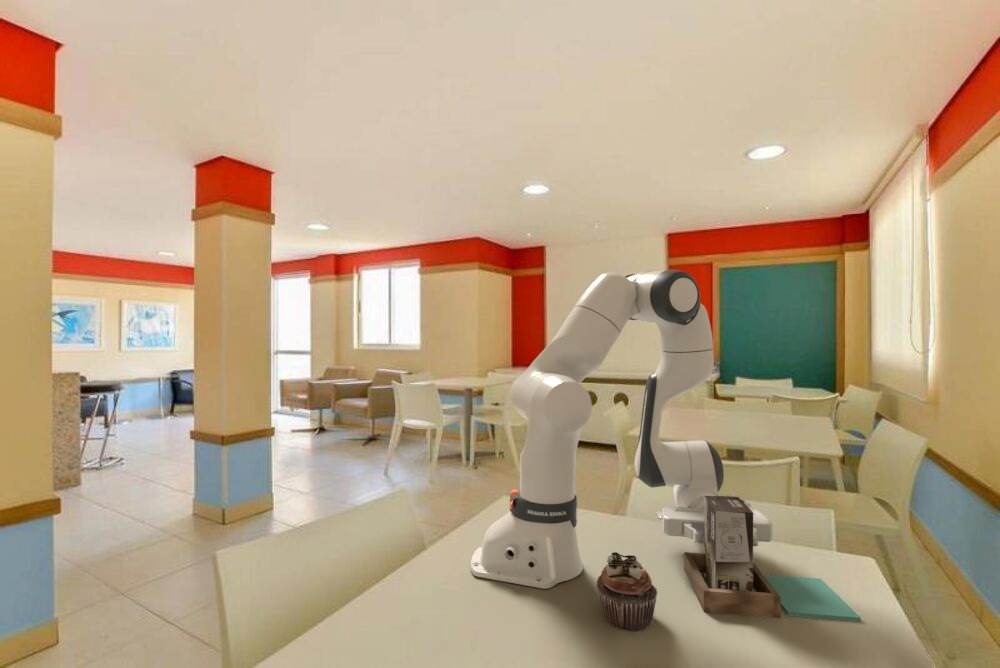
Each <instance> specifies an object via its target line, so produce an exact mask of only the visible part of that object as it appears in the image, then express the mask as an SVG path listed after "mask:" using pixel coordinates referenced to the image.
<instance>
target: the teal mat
mask: <svg viewBox="0 0 1000 668" xmlns="http://www.w3.org/2000/svg"><path fill="white" fill-rule="evenodd" d="M763 575H764V576H765V578H766V579H767V580H768V582H769V583H770V584H771V585H772V587H773V588H774V589H775V590H776V592H777V593H778V594H779V595H780V597H781V609H782V610H783V611H784V612H785V614H786V615H787V616H788V617H790V616H791V617H800V618H801V617H802V618H814V619H826V620H827V619H828V620H838V621H839V620H840V621H852V622H862V617H860V615H858V613H857V612H855V611H854V609H853V608H852V607H850V606H849V604H847V602H845V601H844V600H843V599H842V597H840V596H839V595H838V593H836V592H835V591H834V590H833V589H832V588H831V587H830V586H829V585H828V584H827V583H826V582H825V581H824V580H823V579H822V578H816V577H805V576H804V577H803V576H802V577H801V576H789V575H776V574H775V575H774V574H773V575H772V574H763Z"/></svg>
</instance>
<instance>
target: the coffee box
mask: <svg viewBox="0 0 1000 668" xmlns="http://www.w3.org/2000/svg"><path fill="white" fill-rule="evenodd" d="M742 500H743V499H741V498H740V497H739V496H730V495H729V496H728V495H723V496H704V523H705V538H704V553H705V574H704V581H705V583H706V585H707V586H708V588H710V589H724V590H737V591H750V592H754V589H753V563H754V546H753V514H754V513H753V512H752V511H751V510H750V509H749V508H748V507H747V506H746V505H745V504H744V502H743V501H742Z"/></svg>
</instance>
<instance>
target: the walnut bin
mask: <svg viewBox="0 0 1000 668" xmlns="http://www.w3.org/2000/svg"><path fill="white" fill-rule="evenodd" d="M683 570H684V572H685V574H686V577H687V579H688V581H689V584H690V585H691V587H692V590H693V592H694V594H695V596H696V598H697V600H698V602H699V604H700V607H701V608H702V610H703V612H705V613H712V614H713V613H715V614H726V615H727V614H728V615H740V616H749V617H751V616H752V617H762V618H763V617H764V618H775V619H782V617H781V615H782V613H781V611H782V607H781V597H780V595H779V594H778V593H777V592H776V590H775V589H774V588H773V587H772V585H771V584H770V583H769V582H768V580H767V579H766V578H765V576H764V575H765V574H764V573H762V572H761V570H760V568H759V567H758V566H757V565H756V563H754V562H753V592H750V591H737V590H724V589H710V588H709V586H708V584H707V582H706V580H705V578H704V577H703V575H702V574H704V575H705V552H704V553H703V552H701V553H700V552H688V551H685V552H683Z"/></svg>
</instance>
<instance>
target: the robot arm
mask: <svg viewBox="0 0 1000 668" xmlns="http://www.w3.org/2000/svg"><path fill="white" fill-rule="evenodd" d="M709 318H710V317H709V314H708V310H707V309H706V307H705V305H703V304H702V303H701V291H700V289H699V285H698V283H697V281H696V279H695V278H694V277H693V276H692V275H691V274H690V273H688V272H686V271H683V270H679V269H678V270H677V269H666V270H647V271H641V272H637V273H631V274H628V275H625V276H624V275H623V274H620V273H617V272H604V273H602V274H601V275H599V276H598V277H597V278H596V279H595V280H594V281H593V282H592V283H591V284H590V285H589V286H588V287H587V288H586V290H585V291H584V292H583V293H582V295H581V296H580V297H579V299H578V300H577V302H576V304H574V306H573V308H572V309H571V310H570V312H569V314H568V315H567V318H566V319H565V320H564V322H563V323H562V325H561V326H560V328H559V330H558V331H557V332H556V334H555V335H554V337H553V338H552V340H551V341H550V342H549V343H548V344H547V346H545V348H544V349H543V350H542V351H541V352H540V353H539V354H538V356H536V358H535V359H534V360H533V361H532V362H531V364H530V365H529V366H528V367H527V368H526V370H525V371H524V372H523V373H522V374H521V375H519V376H518V377H517V378H516V379H515V380H514V381H513V383H512V384H511V388H510V391H509V392H510V394H509V396H510V401H511V404H512V405H513V407H514V409H515V412H516V413H518V415H519V416H521V417H522V418H523V419H525V420H527V433H526V438H525V443H524V447H523V450H522V452H521V453H520V457H519V490H518V489H512V490H511V491H510V494H509V512H507V513H505V514H504V515H503V516H502V517H501V518H499V519H498V520H496V521H495V522H493V523H492V524H491V525H490V526H489V528H488V529H487V530H486V532H485V535H484V537H483V541H482V545H479V547H478V548H476V549H475V551H474V552H473V554H472V556H471V558H470V559H471V560H470V571H471V573H472V575H474V576H475V577H478V578H482V579H488V580H494V581H500V582H505V583H511V584H517V585H520V586H521V585H522V586H526V587H527V586H528V587H533V588H538V589H543V590H544V589H550V588H553V587H554V586H555V585H557V584H559V583H563V582H565V581H569V580H572V579H574V578H577V577H578V576H579V575H581V573H583V570H584V565H583V562H582V558H581V555H580V550H579V545H578V538H577V537H578V534H577V525H578V524H577V523H578V502H577V501H578V498H577V495H576V493H575V492H576V491H575V488H576V487H575V486H576V483H575V482H576V480H575V478H576V476H575V475H576V472H575V471H576V455H577V450H578V449H577V448H578V444H579V441H580V436H581V433H582V431H583V427H584V426H586V424H587V422H588V420H589V419H590V416H591V414H592V410H593V407H592V406H593V404H592V398H591V396H590V393H589V391H588V390H587V389H586V388H585V387H584V386H583V385H582V382H583V380H585V379H586V378H587V377H588V376H589V375H590V374H591V373H593V372H594V371H596V370H597V369H598V368H600V367H601V366H602V364H603V362H604V361H605V360H606V358H607V356H608V354H609V352H610V351H611V349H612V348H613V346H614V345H615V343H616V341H617V339H618V338H619V336H620V335H621V333H622V331H623V330H624V328H625V326H626V324H627V323H628V321H629V320H630V321H644V322H649V323H655V324H656V326H657V327H658V330H659V332H660V359H659V364H658V366H657V368H656V370H655V371H654V372H653V373H651V374H649V376H648V378H647V380H646V383H645V389H644V395H643V403H642V411H641V418H640V427H639V428H640V429H639V437H638V442H637V448H636V452H635V457H634V469H635V474H636V476H637V478H638V479H639V480H640V481H641V482H642V483H643V484H645V485H646V486H648V487H649V488H653V489H654V488H659V487H661V488H662V487H666V486H673V488H672V492H673V499H674V501H675V504H676V506H665V507H663V508H662V510H657V511H656V513H655V514H656V517H657V518H658V519H659V520H661V528H662V533H664V535H667V536H670V537H683V538H684V537H685V538H688V539H691V540H693V542H694V543H699V544H701V543H702V544H704V539H705V523H704V496H724V495H723V494H720V493H719V492H720V490H721V488H722V486H723V485H724V474H725V473H724V465H723V461H722V459H721V456H720V454H719V452H718V450H717V449H716V448H715V447H714V446H713V445H712V444H711V443H710V442H709V441H706V440H704V439H703V440H700V439H699V440H683V441H659V438H660V437H659V436H660V428H661V421H662V413H663V410H664V408H665V406H666V405H667V404H668V403H669V402H670V401H671V400H673V399H675V398H676V397H679V396H681V395H683V394H686V393H688V392H691V391H693V390H695V389H696V388H698V387H700V386H701V385H703V384H704V383H705V382H706V381H708V379H709V378H710V377H711V374H712V373H713V370H714V363H715V360H714V357H715V355H714V341H713V333H712V327H711V323H710V319H709ZM741 500H742V501H743V502H744V504H745V505H746V506H747V507H748V508H749V509H750V510H751V511H752V512H753V513H754V514H753V547H758V546H759V542H760V543H761V542H763V543H770V542H771V541H772V540H773V538H774V536H773V535H774V527H773V526H774V525H773V523H772V521H771V519H769V518H768V517H767V516H766V515H765V514H764V513H762V512H761V511H760V510H758V509H757V508H755V507H752V504H751V502H750V501H749V500H746V499H741Z"/></svg>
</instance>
